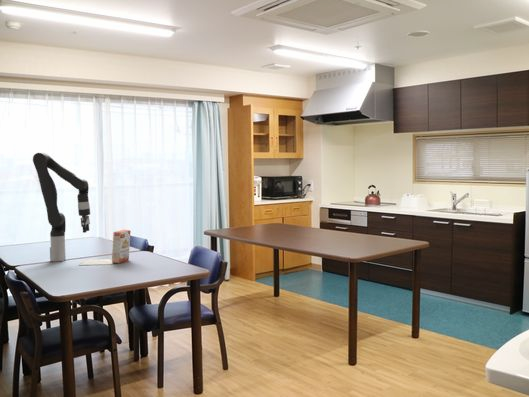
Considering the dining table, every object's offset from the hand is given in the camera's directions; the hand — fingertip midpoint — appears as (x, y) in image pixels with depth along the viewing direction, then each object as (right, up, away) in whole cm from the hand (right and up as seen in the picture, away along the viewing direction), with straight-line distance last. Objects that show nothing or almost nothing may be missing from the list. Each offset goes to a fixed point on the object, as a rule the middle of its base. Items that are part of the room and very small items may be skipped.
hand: (86, 231), depth 340 cm
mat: (+11, -20, -8) cm, 24 cm away
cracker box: (+26, -20, -6) cm, 33 cm away
